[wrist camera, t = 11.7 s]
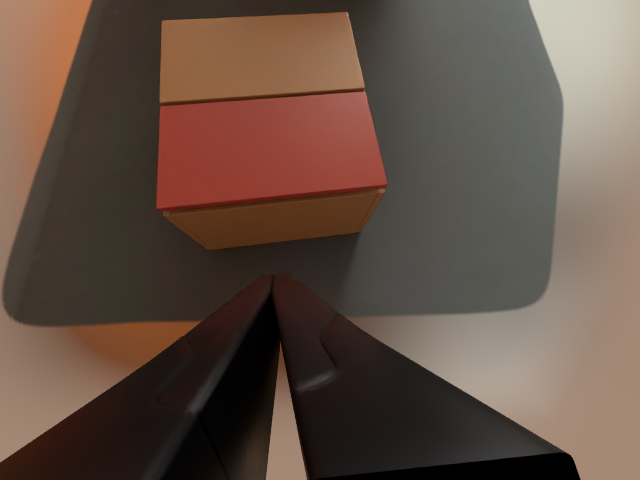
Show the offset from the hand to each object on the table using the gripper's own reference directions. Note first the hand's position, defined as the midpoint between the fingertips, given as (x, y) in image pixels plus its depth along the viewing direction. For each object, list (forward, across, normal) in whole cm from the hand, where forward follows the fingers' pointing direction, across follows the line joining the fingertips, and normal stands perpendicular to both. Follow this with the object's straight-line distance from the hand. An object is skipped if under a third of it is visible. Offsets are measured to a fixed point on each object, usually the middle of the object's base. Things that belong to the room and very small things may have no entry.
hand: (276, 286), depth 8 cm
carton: (+17, 0, 0) cm, 17 cm away
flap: (+9, 0, +2) cm, 10 cm away
